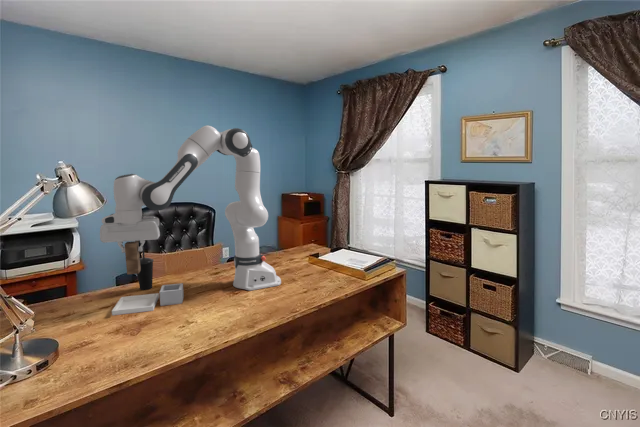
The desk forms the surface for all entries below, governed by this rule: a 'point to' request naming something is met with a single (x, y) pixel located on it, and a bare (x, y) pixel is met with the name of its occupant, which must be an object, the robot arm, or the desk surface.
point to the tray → (135, 304)
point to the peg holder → (171, 294)
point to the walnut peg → (132, 257)
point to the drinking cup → (145, 272)
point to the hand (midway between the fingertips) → (132, 251)
